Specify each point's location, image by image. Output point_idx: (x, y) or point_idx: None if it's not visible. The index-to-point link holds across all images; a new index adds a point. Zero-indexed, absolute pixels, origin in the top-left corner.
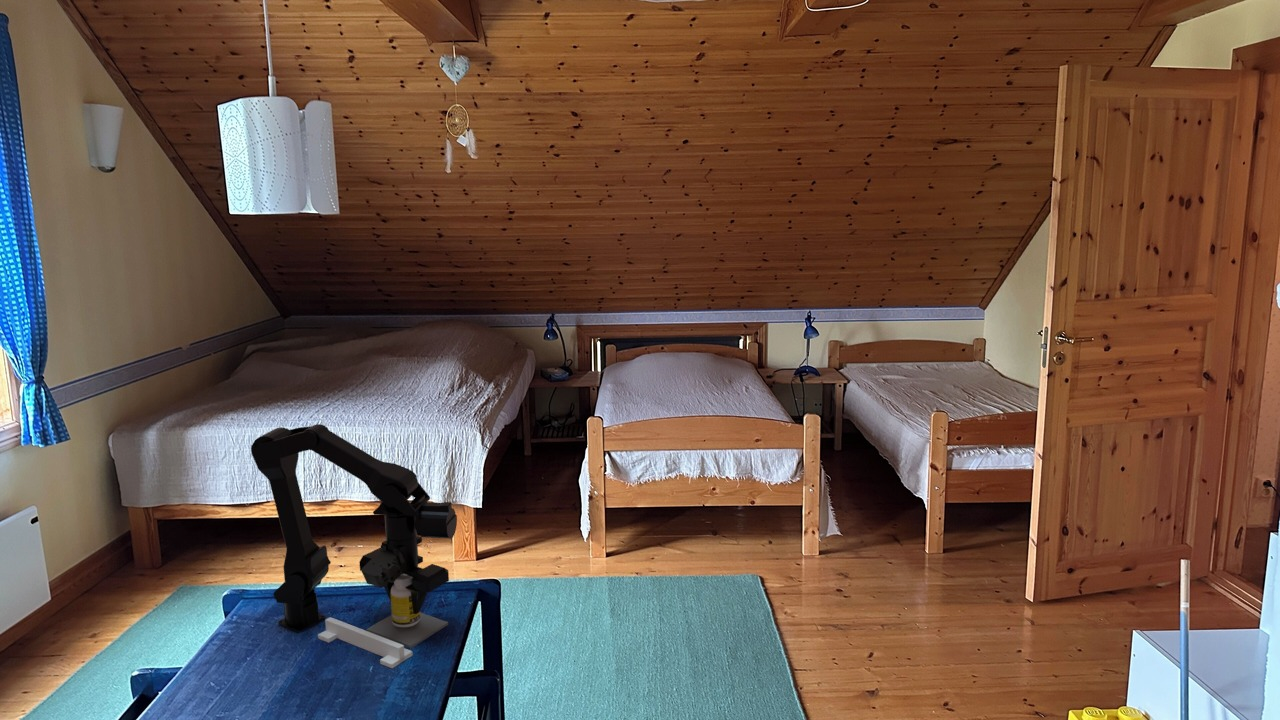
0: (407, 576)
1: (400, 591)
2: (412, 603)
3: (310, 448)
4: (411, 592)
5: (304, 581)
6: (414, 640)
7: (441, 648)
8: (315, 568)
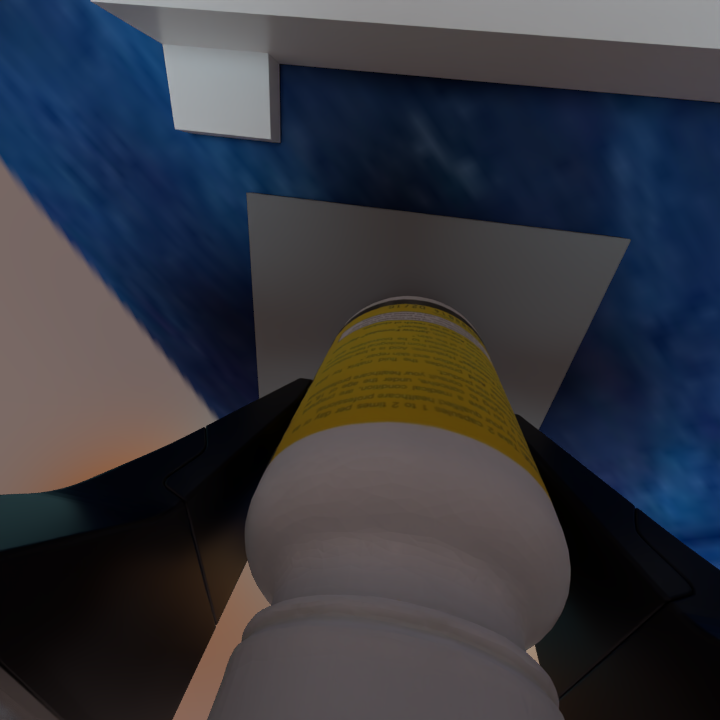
0: None
1: (340, 503)
2: (270, 418)
3: None
4: (159, 506)
5: None
6: (272, 251)
7: (139, 261)
8: None
